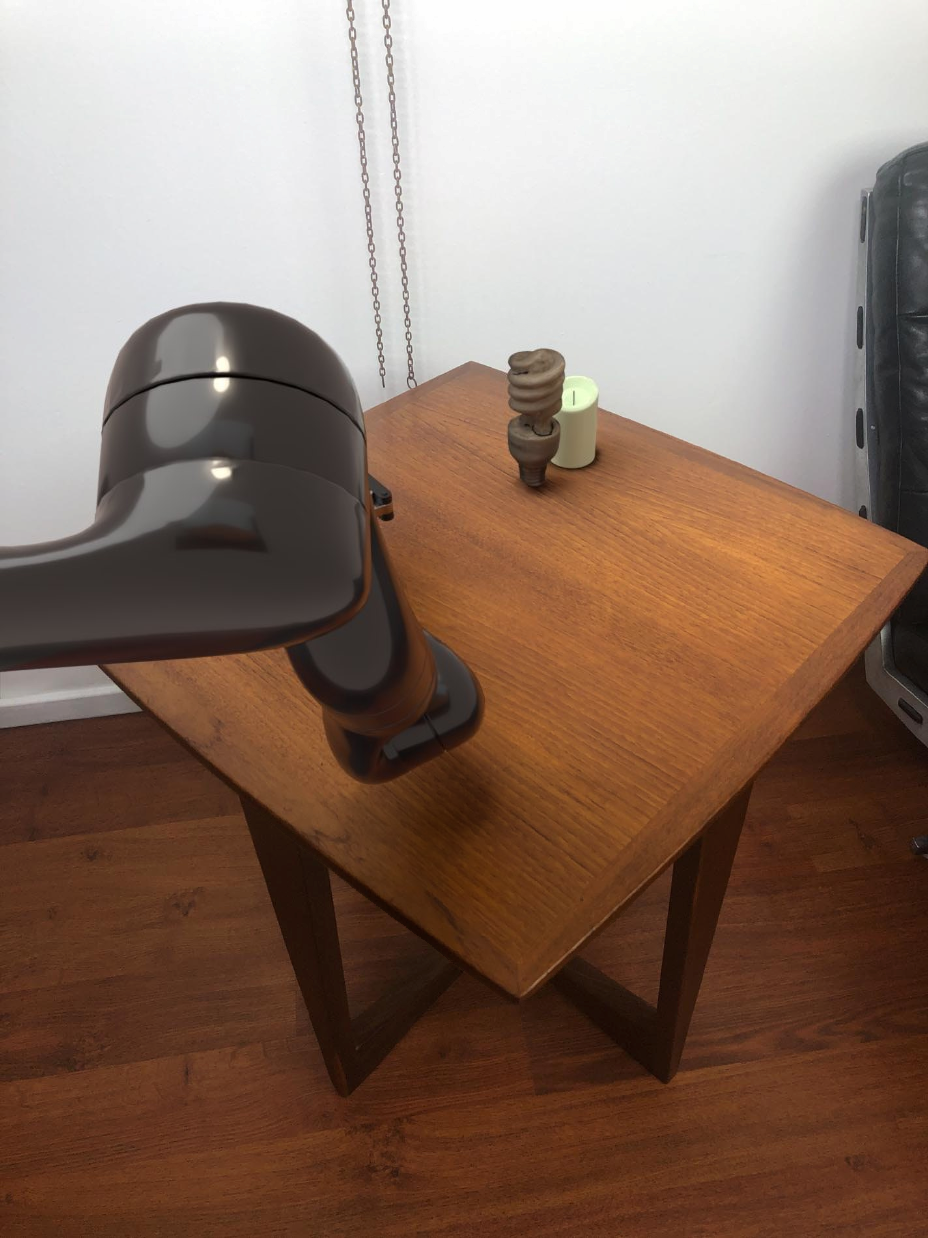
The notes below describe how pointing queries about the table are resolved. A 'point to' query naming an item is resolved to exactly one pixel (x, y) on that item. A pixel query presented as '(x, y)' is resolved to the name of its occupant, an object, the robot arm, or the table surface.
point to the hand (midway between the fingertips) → (289, 466)
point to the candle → (577, 423)
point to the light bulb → (535, 410)
